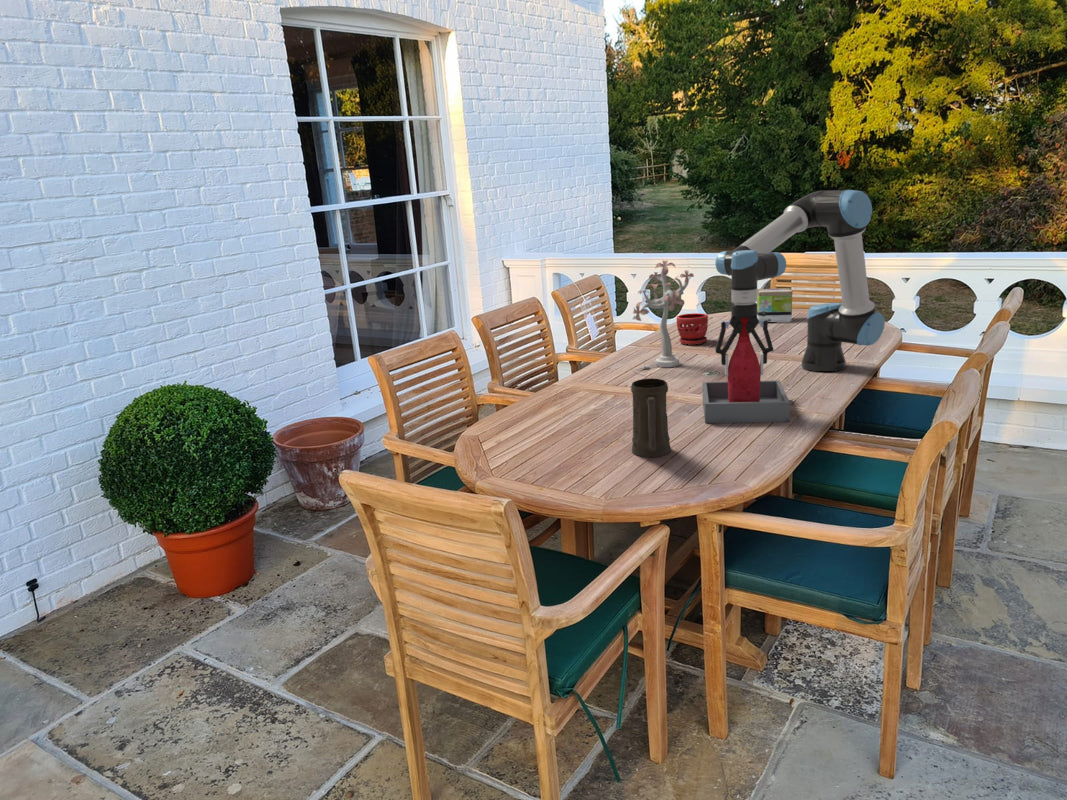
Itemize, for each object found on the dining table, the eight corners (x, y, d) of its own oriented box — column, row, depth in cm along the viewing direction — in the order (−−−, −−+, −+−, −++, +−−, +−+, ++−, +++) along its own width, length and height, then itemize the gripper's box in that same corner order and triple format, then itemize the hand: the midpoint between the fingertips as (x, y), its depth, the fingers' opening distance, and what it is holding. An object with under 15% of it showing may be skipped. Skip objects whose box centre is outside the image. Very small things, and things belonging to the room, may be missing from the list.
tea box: (758, 323, 371) (758, 292, 367) (756, 319, 381) (756, 288, 376) (792, 322, 368) (792, 290, 364) (789, 318, 378) (789, 287, 374)
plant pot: (712, 340, 345) (712, 312, 342) (701, 347, 335) (701, 318, 332) (684, 338, 352) (683, 311, 349) (672, 345, 342) (671, 317, 339)
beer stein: (627, 445, 228) (625, 378, 221) (664, 441, 228) (664, 375, 221) (639, 467, 213) (637, 397, 206) (678, 463, 214) (678, 393, 207)
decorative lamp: (648, 378, 295) (644, 268, 283) (616, 365, 315) (612, 263, 304) (710, 365, 305) (709, 260, 294) (675, 354, 326) (673, 255, 314)
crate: (779, 398, 260) (779, 380, 258) (789, 421, 237) (789, 402, 235) (702, 399, 264) (702, 381, 263) (705, 422, 242) (704, 403, 240)
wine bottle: (761, 400, 253) (762, 306, 245) (759, 409, 244) (759, 312, 236) (729, 399, 256) (729, 306, 248) (726, 408, 247) (725, 312, 239)
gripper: (706, 306, 240) (707, 378, 246) (784, 303, 236) (783, 376, 242) (705, 302, 247) (706, 372, 253) (781, 299, 243) (780, 370, 249)
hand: (744, 374), depth 248 cm, fingers closed on wine bottle, 10 cm apart
